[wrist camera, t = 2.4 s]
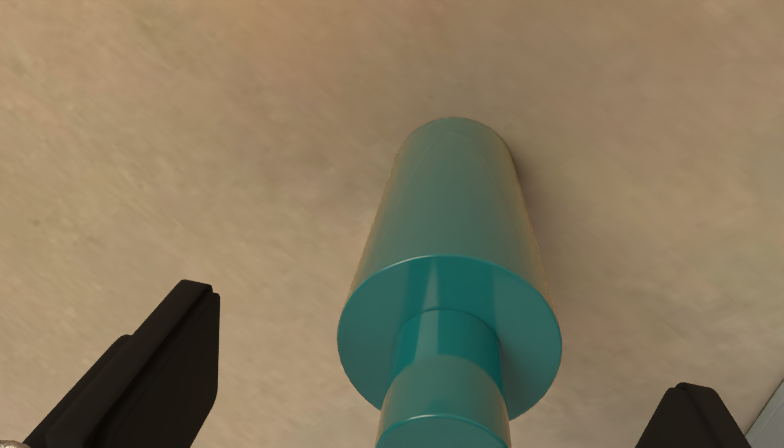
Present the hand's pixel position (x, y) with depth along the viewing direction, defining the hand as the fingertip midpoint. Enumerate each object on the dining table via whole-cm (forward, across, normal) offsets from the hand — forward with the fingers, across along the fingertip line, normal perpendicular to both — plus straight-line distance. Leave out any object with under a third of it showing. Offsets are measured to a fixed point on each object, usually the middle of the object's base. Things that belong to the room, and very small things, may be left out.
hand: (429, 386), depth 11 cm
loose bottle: (+12, 0, 0) cm, 12 cm away
